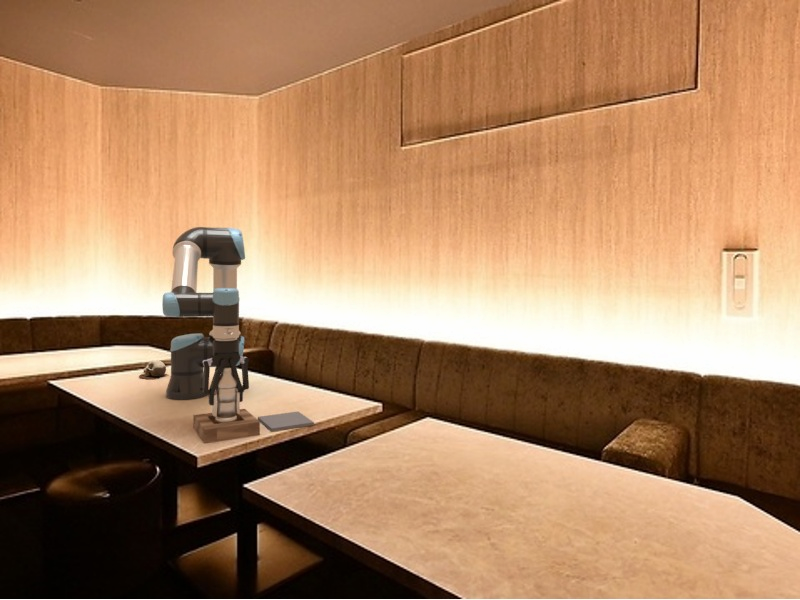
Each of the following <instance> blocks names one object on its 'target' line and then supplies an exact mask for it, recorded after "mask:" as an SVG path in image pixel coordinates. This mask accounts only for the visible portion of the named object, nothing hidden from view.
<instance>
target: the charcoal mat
mask: <svg viewBox="0 0 800 600" xmlns="http://www.w3.org/2000/svg"><path fill="white" fill-rule="evenodd" d="M257 420H258V421H260V424H262V423H263V424H264V425H265V426H264V425H263V424H262V425H263V426H264V427H265V428H267V429H268V430H269V431H270V432H278V431H279V432H280V431H285V430H292V429H298V428H304V427H312V426H315V421H313V420H312V419H310V418H308V417H307V416H306V415H304V414H303V413H301V411H290V412H283V413H277V414H270V415H262V416H257Z"/></svg>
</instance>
